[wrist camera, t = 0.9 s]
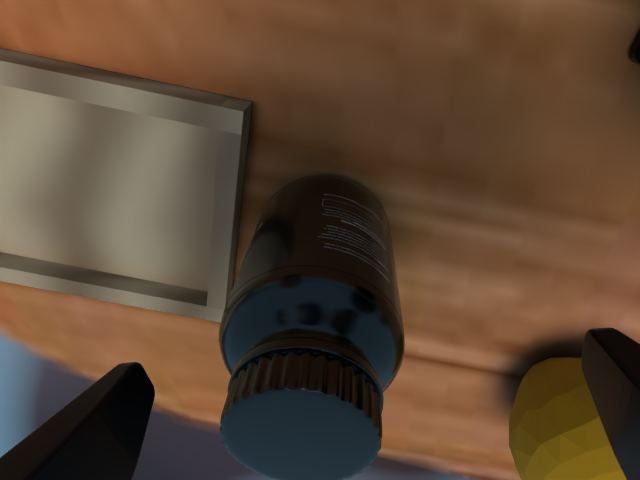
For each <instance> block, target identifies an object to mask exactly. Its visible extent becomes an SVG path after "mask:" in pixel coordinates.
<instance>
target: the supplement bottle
mask: <svg viewBox="0 0 640 480" xmlns="http://www.w3.org/2000/svg"><path fill="white" fill-rule="evenodd" d="M219 344H220V350H221V354H222V357H223V360H224V363H225V365H226V367H227V369H228V371H229V373H230V375H231V378H230V382H229V385H228V395H227V398H226V402H225V405H224V408H223V412H222V415H221V421H220V423H221V426H220V434H221V436H222V443H223V444H224V445H226V447H227V451H228V452H229V453H231V454H232V455H233V456H234V458H235V459H236V460H237V461H239V462H241V463H242V464H243V465H244V466H245V467H247V468H249V469H252V470H253V471H255V472H256V473H258V474H261V475H264V476H266V477H268V478H271V479H277V480H343V479H348V478H352V477H353V476H354V475H355V474H358V473H361V472H362V471H363V470H364V469H365V468H367V467H369V466H370V465H371V462H372V461H373V460H375V459H376V458H377V454H378V451H379V450H380V449H381V439H382V418H381V413H382V409H383V392H384V391H385V390H386V389H387V388H388V387H389V385H390V384H391V383H392V381H393V380H394V378H395V377H396V375H397V373H398V371H399V369H400V366H401V363H402V360H403V356H404V346H405V342H404V329H403V321H402V314H401V306H400V299H399V292H398V285H397V277H396V270H395V263H394V255H393V248H392V241H391V235H390V229H389V224H388V221H387V218H386V215H385V213H384V211H383V209H382V207H381V206H380V204H379V203H378V202H377V201H376V199H375V198H374V197H373V196H372V195H371V194H370V193H368V192H367V191H366V190H365V189H363V188H362V187H360V186H358V185H356V184H355V183H352V182H350V181H347V180H344V179H341V178H336V177H330V176H315V177H308V178H304V179H301V180H298V181H295V182H293V183H291V184H289V185H287V186H286V187H284V188H283V189H281V190H280V191H279V192H277V193H276V194H275V195H274V196H273V197H272V199H271V200H270V201H269V202H268V204H267V205H266V207H265V209H264V211H263V213H262V215H261V218H260V220H259V222H258V225H257V227H256V230H255V232H254V235H253V238H252V240H251V243H250V245H249V248H248V250H247V253H246V256H245V258H244V261H243V263H242V266H241V268H240V271H239V273H238V276H237V279H236V281H235V284H234V286H233V289H232V291H231V294H230V297H229V299H228V302H227V304H226V307H225V310H224V313H223V316H222V319H221V323H220V329H219Z"/></svg>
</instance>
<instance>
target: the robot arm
mask: <svg viewBox="0 0 640 480" xmlns="http://www.w3.org/2000/svg"><path fill="white" fill-rule="evenodd" d="M630 58H631V60H632V61H633V62H635V63H638V64H640V32H639V34H638V35H637V37H636V39H635V41H634V43H633V45H632V47H631V50H630ZM581 368H582V372H583V375H584V378H585V380H586V383H587V386H588V388H589V391H590V393H591V396H592V399H593V401H594V404H595V406H596V409H597V412H598V414H599V417H600V419H601V422H602V425H603V427H604V430H605V433H606V435H607V438H608V440H609V443H610V445H611V448H612V450H613V453H614V455H615V457H616V459H617V461H618V463H619V465H620V467H621V469H622V471H623V473H624V475H625V477H626V479H627V480H640V344H639V343H637V342H636V341H634V340H632V339H631V338H629V337H628V336H626V335H624V334H623V333H621V332H620V331H618V330H616V329H614V328H598V329H590V330H588V331H587V332H586V335H585V340H584V345H583V351H582V357H581ZM154 397H155V390H154V386H153V384H152V382H151V381H150V379H149V377H148V375H147V374H146V372H145V370H144V368H143V366H142V365H141V364H140V363H138V362H130V363H121V364H119V365H117V366H116V367H114V368H113V369H112V370H111V371H109V372H108V373H107V374H106V375H104V376H103V377H102V378H101V379H99V380H98V381H97V382H95V383H94V384H93V385H92V386H90V387H89V388H88V389H87V390H85V391H84V392H83V393H82V394H80V395H79V396H78V397H77V398H75V399H74V400H73V401H71V402H70V403H69V404H68V405H67V406H65V407H64V408H63V409H62V410H60V411H59V412H58V413H56V414H55V415H54V416H52V417H51V418H50V419H49V420H47V421H46V422H45V423H44V424H42V425H41V426H40V427H39V428H37V429H36V430H35V431H34V432H32V433H31V434H30V435H28V436H27V437H26V438H25V439H23V440H22V441H21V442H20V443H18V444H17V445H16V446H15V447H13V448H12V449H11V450H9V451H8V452H7V453H6V454H5V455H3V456H2V457H1V458H0V480H132V478H133V475H134V472H135V469H136V466H137V462H138V459H139V455H140V452H141V448H142V443H143V440H144V436H145V432H146V428H147V425H148V421H149V417H150V413H151V409H152V405H153V401H154Z"/></svg>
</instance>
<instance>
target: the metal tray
mask: <svg viewBox="0 0 640 480" xmlns="http://www.w3.org/2000/svg"><path fill="white" fill-rule="evenodd" d="M251 110H252V101H248V100H243V99H239V98H234V97H229V96H225V95H220V94H215V93H210V92H206V91H201V90H196V89H191V88H187V87H182V86H177V85H172V84H168V83H163V82H158V81H153V80H149V79H144V78H139V77H134V76H130V75H125V74H120V73H115V72H111V71H106V70H101V69H96V68H92V67H87V66H82V65H77V64H73V63H68V62H63V61H58V60H54V59H49V58H44V57H39V56H35V55H30V54H25V53H21V52H16V51H11V50H6V49H2V48H0V281H3V282H8V283H14V284H19V285H24V286H29V287H35V288H40V289H45V290H50V291H56V292H61V293H66V294H72V295H77V296H82V297H87V298H93V299H98V300H103V301H108V302H114V303H119V304H124V305H130V306H135V307H140V308H145V309H151V310H156V311H161V312H166V313H172V314H177V315H182V316H188V317H193V318H198V319H203V320H209V321H214V322H219V323H221V319H222V316H223V313H224V310H225V307H226V304H227V302H228V299H229V297H230V294H231V291H232V289H233V283H234V274H235V264H236V254H237V245H238V235H239V225H240V216H241V206H242V197H243V187H244V177H245V168H246V158H247V148H248V139H249V129H250V119H251Z"/></svg>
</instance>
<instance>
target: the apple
mask: <svg viewBox="0 0 640 480" xmlns="http://www.w3.org/2000/svg"><path fill="white" fill-rule="evenodd" d="M509 446H510V449H511V452H512V455H513V458H514V461H515V464H516V467H517V470H518V473H519V476H520V478H521V479H522V480H627V479H626V477H625V475H624V473H623V471H622V469H621V467H620V465H619V463H618V461H617V459H616V457H615V455H614V453H613V450H612V448H611V445H610V443H609V440H608V438H607V435H606V433H605V430H604V427H603V425H602V422H601V419H600V417H599V414H598V412H597V409H596V406H595V404H594V401H593V399H592V396H591V393H590V391H589V388H588V386H587V383H586V380H585V378H584V375H583V372H582V368H581V358H573V357H561V358H549V359H546V360H544V361H542V362H539V363H537V364H535V365H533V366H532V367H531V368H530V370H529V371H528V372H527V373H526V374H525V375H524V377H523V379H522V381H521V384H520V386H519V388H518V391H517V394H516V398H515V401H514V405H513V408H512V412H511V415H510V419H509Z"/></svg>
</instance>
